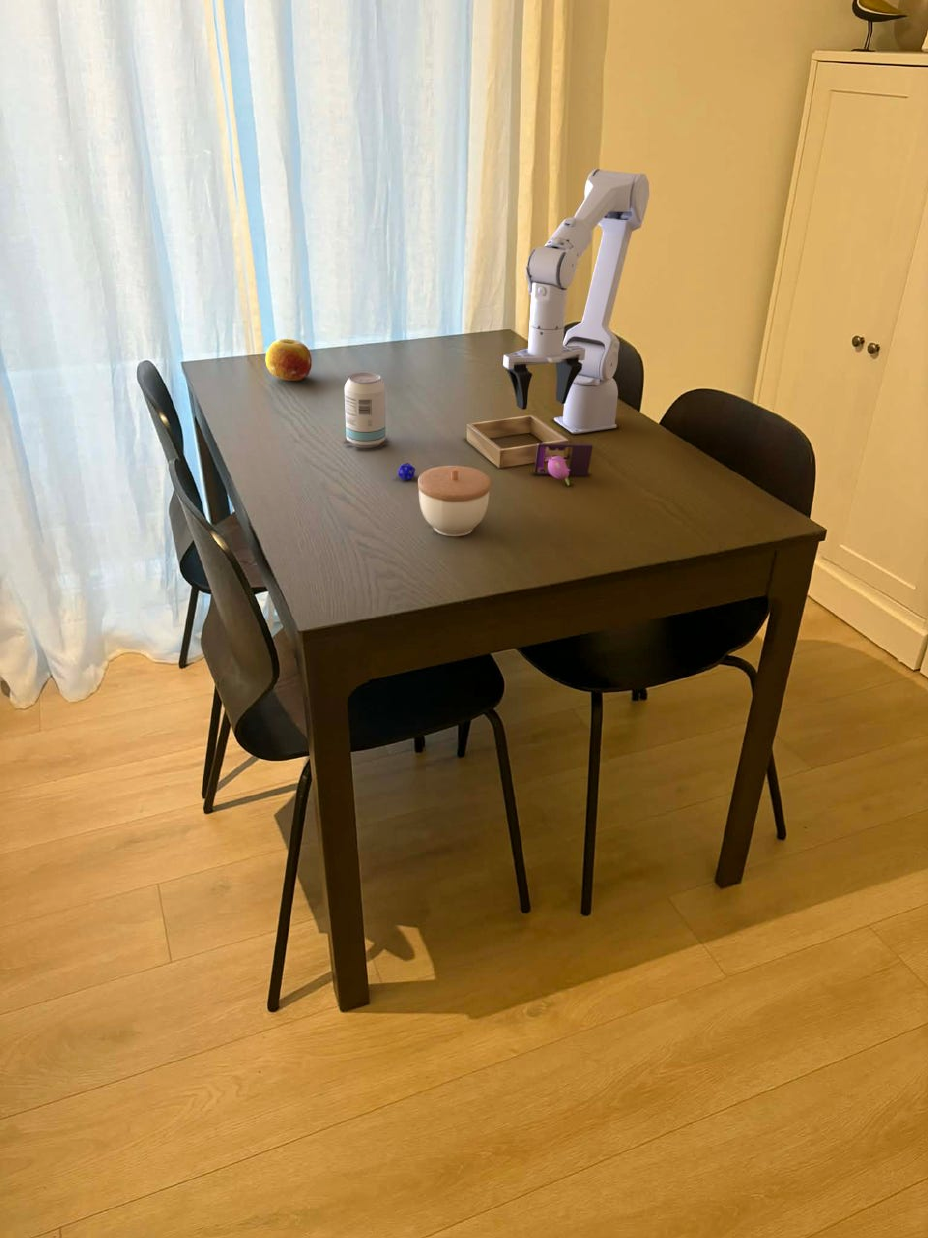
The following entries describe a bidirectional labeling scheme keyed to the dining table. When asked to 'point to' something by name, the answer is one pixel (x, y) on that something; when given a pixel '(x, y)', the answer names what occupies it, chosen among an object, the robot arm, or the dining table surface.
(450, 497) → the trinket box
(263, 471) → the dining table surface
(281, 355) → the fruit
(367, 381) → the beverage can
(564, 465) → the purple monster figurine
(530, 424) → the birch box
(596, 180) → the robot arm
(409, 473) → the die
